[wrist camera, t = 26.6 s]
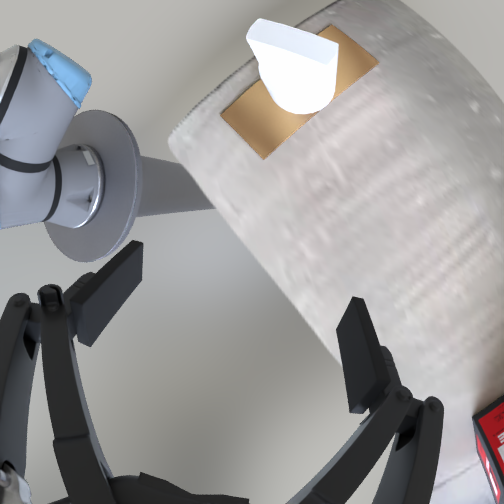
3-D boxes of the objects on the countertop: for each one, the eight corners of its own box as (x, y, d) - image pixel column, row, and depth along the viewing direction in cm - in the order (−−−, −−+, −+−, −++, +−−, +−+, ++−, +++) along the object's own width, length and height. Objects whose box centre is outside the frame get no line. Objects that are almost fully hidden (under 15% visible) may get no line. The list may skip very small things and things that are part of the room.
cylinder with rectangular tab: (256, 98, 34) (228, 59, 23) (285, 49, 32) (269, -1, 20) (317, 125, 33) (315, 91, 21) (345, 73, 30) (352, 25, 19)
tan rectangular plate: (264, 159, 36) (263, 159, 35) (220, 116, 36) (219, 115, 36) (379, 63, 29) (379, 62, 29) (331, 25, 29) (331, 24, 29)
